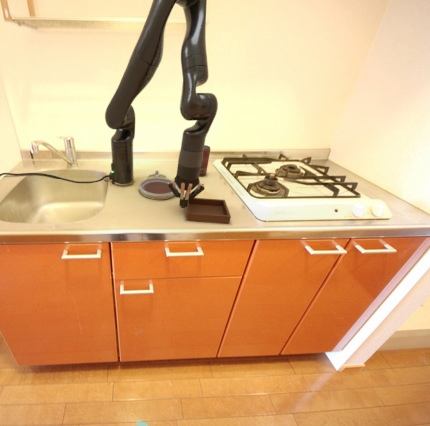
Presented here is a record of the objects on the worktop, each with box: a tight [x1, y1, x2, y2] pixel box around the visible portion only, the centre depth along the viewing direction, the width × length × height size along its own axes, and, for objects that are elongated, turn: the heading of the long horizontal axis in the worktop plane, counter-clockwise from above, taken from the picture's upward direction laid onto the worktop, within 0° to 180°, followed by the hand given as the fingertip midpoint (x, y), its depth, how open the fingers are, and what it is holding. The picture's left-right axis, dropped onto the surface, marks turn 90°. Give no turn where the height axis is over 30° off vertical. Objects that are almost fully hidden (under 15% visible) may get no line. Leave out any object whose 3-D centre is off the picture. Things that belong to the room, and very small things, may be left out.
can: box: [199, 144, 211, 178], centre depth 109 cm, size 6×6×14 cm
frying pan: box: [138, 169, 179, 201], centre depth 102 cm, size 17×3×28 cm
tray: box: [185, 197, 232, 225], centre depth 83 cm, size 15×12×3 cm
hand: (182, 206), depth 83 cm, fingers closed
